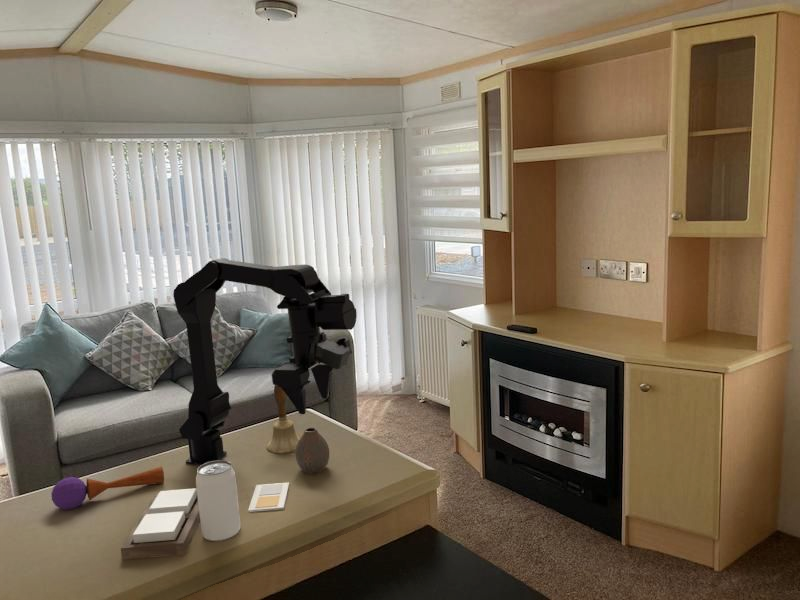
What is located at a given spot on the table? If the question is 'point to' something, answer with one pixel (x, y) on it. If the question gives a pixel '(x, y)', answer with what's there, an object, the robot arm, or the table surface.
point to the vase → (312, 452)
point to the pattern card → (269, 497)
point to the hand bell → (282, 428)
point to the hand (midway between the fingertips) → (314, 405)
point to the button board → (162, 548)
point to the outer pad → (159, 527)
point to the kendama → (97, 487)
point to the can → (218, 500)
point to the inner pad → (174, 501)
